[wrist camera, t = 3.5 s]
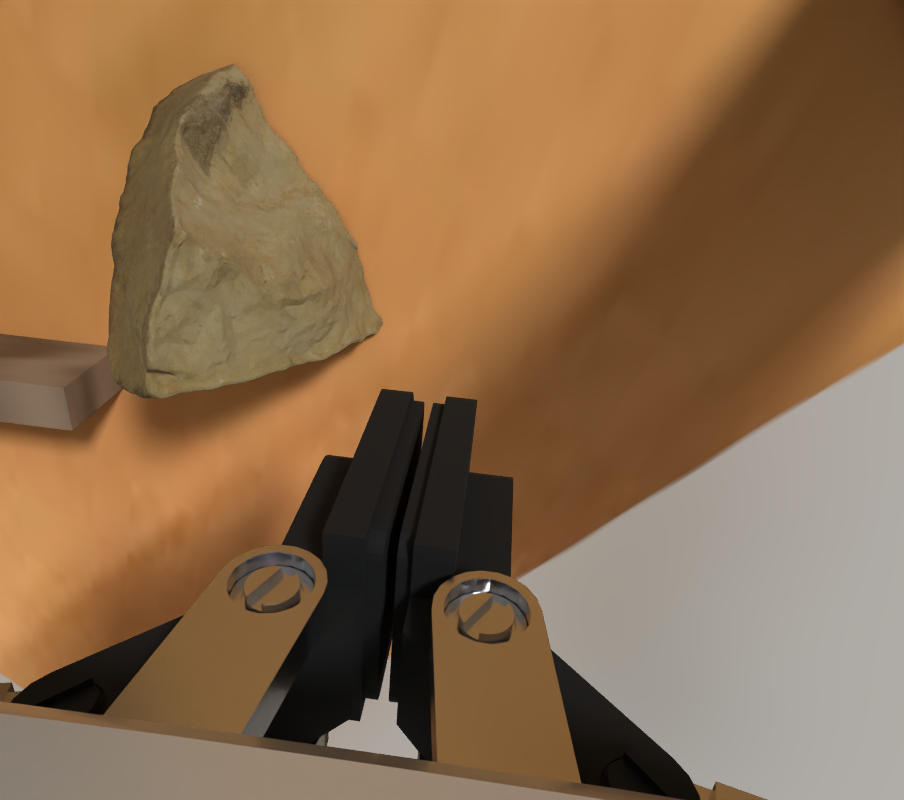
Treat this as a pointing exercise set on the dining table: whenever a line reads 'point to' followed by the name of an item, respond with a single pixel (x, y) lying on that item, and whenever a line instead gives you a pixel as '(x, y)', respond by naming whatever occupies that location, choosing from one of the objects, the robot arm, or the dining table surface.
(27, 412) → the corner stop
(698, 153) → the dining table surface
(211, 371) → the rock
